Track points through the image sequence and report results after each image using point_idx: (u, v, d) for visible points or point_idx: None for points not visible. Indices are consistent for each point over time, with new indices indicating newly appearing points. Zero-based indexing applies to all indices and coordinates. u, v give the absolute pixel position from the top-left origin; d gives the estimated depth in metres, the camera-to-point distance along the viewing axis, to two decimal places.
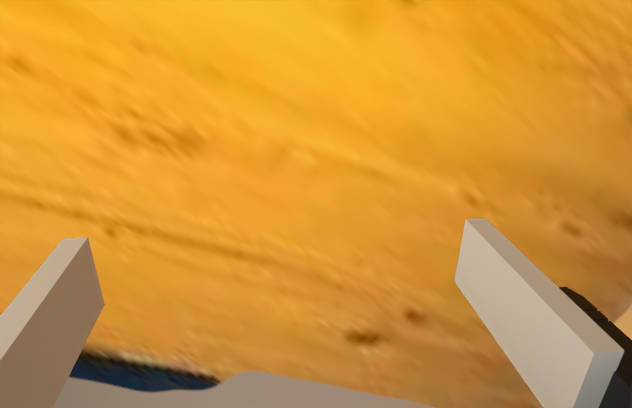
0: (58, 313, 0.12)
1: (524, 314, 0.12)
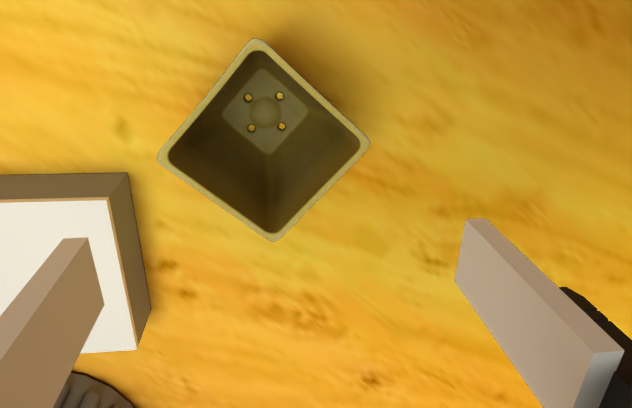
0: (58, 313, 0.12)
1: (524, 314, 0.12)
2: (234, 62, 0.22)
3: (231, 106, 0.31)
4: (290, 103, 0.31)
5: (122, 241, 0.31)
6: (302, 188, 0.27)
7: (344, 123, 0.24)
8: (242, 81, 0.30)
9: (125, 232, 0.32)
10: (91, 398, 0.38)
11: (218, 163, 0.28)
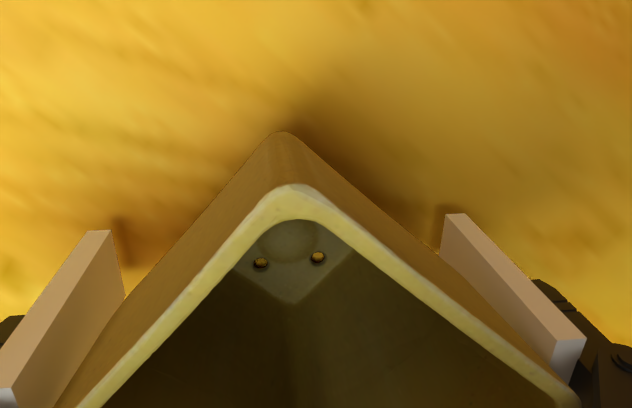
0: (86, 301, 0.12)
1: (497, 305, 0.12)
2: (219, 257, 0.07)
3: None
4: None
5: None
6: None
7: (528, 376, 0.09)
8: None
9: None
10: None
11: (192, 381, 0.13)
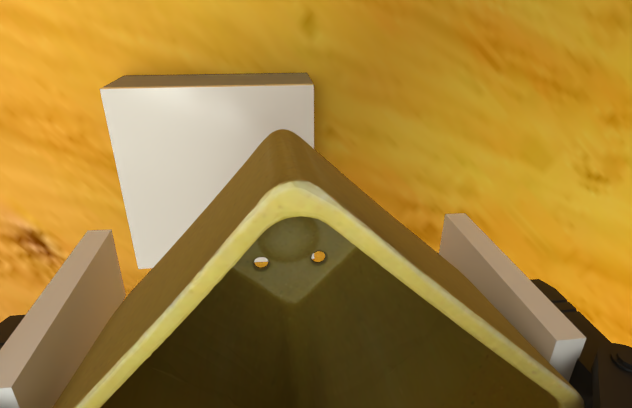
0: (87, 301, 0.12)
1: (496, 305, 0.12)
2: (221, 254, 0.07)
3: None
4: None
5: None
6: None
7: (531, 375, 0.09)
8: None
9: None
10: None
11: (193, 380, 0.13)
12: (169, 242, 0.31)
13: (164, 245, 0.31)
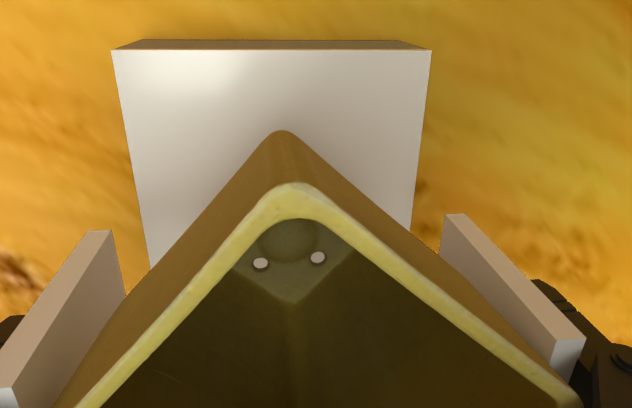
0: (87, 301, 0.12)
1: (496, 305, 0.12)
2: (218, 256, 0.07)
3: None
4: None
5: None
6: None
7: (529, 376, 0.09)
8: None
9: None
10: None
11: (191, 381, 0.13)
12: None
13: None
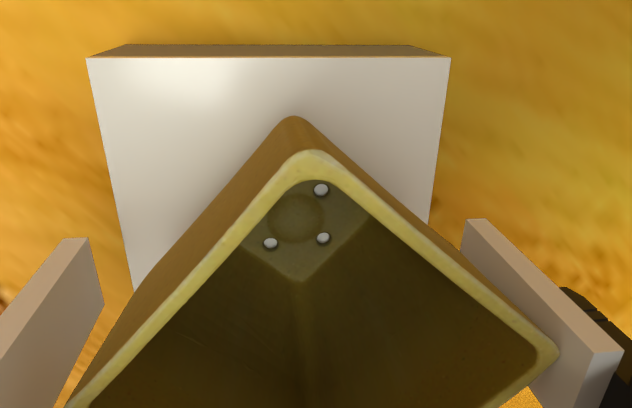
0: (58, 313, 0.12)
1: None
2: (248, 212, 0.08)
3: None
4: (340, 201, 0.18)
5: None
6: (382, 401, 0.14)
7: (511, 324, 0.10)
8: None
9: None
10: None
11: (211, 345, 0.14)
12: None
13: None
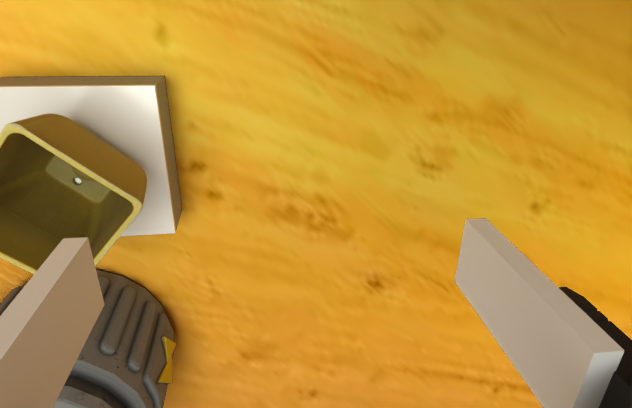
0: (58, 313, 0.12)
1: (524, 314, 0.12)
2: None
3: (53, 162, 0.34)
4: None
5: (164, 130, 0.36)
6: (102, 241, 0.30)
7: (113, 189, 0.27)
8: None
9: (165, 125, 0.37)
10: (129, 291, 0.43)
11: (27, 219, 0.31)
12: None
13: None
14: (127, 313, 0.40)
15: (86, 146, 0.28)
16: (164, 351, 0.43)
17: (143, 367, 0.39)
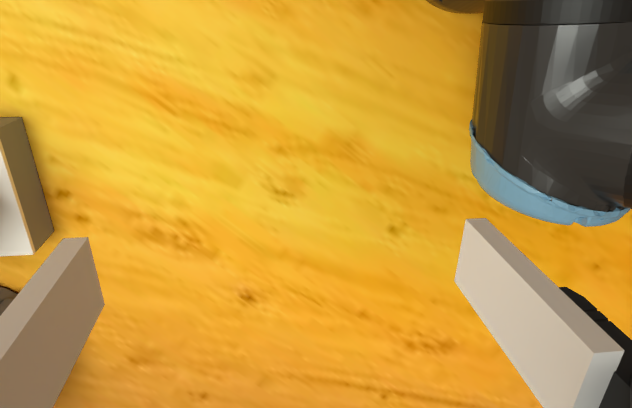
0: (58, 313, 0.12)
1: (524, 314, 0.12)
2: None
3: None
4: None
5: (14, 166, 0.41)
6: None
7: None
8: None
9: (19, 161, 0.42)
10: (8, 302, 0.48)
11: None
12: None
13: None
14: None
15: None
16: None
17: None
